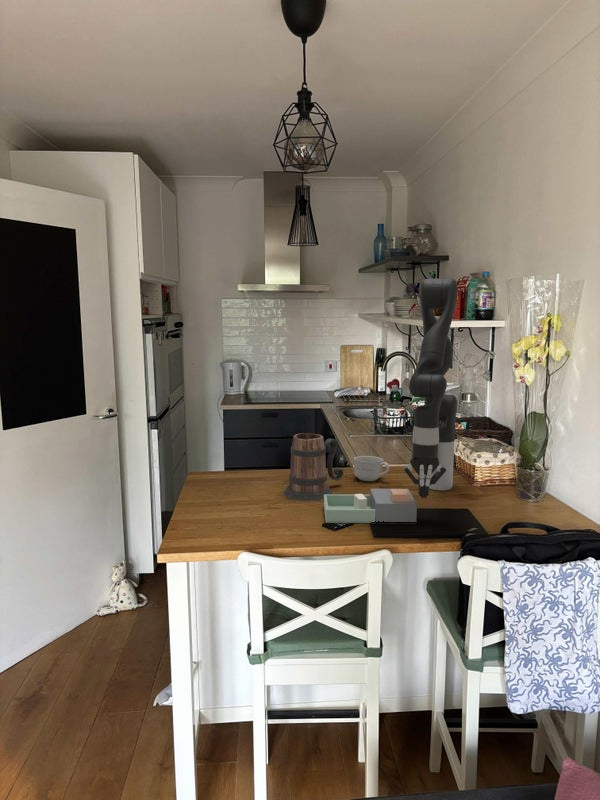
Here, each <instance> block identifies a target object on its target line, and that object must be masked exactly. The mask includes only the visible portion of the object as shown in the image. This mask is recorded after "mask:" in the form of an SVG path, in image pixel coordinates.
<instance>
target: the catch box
mask: <svg viewBox="0 0 600 800" xmlns="http://www.w3.org/2000/svg"><path fill="white" fill-rule="evenodd" d="M363 495H364V496H365V497H366V498H367V509H354V494H332V495H327V494H324V499H323V511H324V512H323V513H324V517H325V518H324V520H325V524H336V523H337V524H372V523H371V522H375V509H371V508H370V494H363ZM375 523H376V522H375Z"/></svg>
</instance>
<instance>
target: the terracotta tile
mask: <svg viewBox="0 0 600 800" xmlns="http://www.w3.org/2000/svg"><path fill="white" fill-rule="evenodd" d="M389 489H390V498H391V500H392V502H393V503H410V494H409V492H408V490H407V489H408V488H389Z"/></svg>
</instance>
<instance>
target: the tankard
mask: <svg viewBox="0 0 600 800" xmlns="http://www.w3.org/2000/svg"><path fill="white" fill-rule="evenodd" d="M292 437H293V438H292V444H291V446H290V469H289V472H290V473H289V476H288V477H289V478H288V480H289V484H288V486H287V487H286V488H285V490H284V491H283V492H282V493H283V496H285V497H286V498H288V499H290V500H294V501H301V502H318V501H322V500H323V501H324V494H327V495H333V492H332V490H331V489H330V487H329V486H328V484H327V480H328V477H329V478H330V479H332V480H333V481H340V480H341V479H342V478H343V475H344V470H343V468H340V467H333V461H334V459H335V458H334V457H335V455H336V453H337V450H338V441H337V440H336V439H334V438H327V439H325V440H324V436H323V435H321V434H319V433H318V434H317V433H307V432H306V433H305V432H300V433H297V434H294V435H293V436H292ZM326 453H328V456H327V460H326ZM326 468H327V470H326ZM333 468H334V469H333ZM327 473H328V475H327ZM335 475H336V476H335ZM327 476H328V477H327Z"/></svg>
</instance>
